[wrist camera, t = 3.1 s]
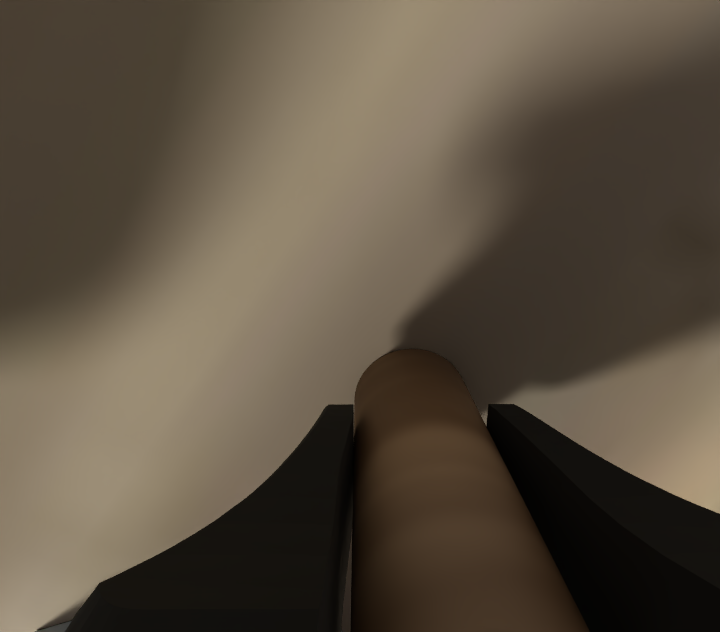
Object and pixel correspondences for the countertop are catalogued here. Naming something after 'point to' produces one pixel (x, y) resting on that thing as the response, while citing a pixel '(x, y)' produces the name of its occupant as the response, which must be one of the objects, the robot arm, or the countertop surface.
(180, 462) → the countertop surface
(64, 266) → the countertop surface
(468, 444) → the walnut peg
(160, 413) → the countertop surface
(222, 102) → the countertop surface
